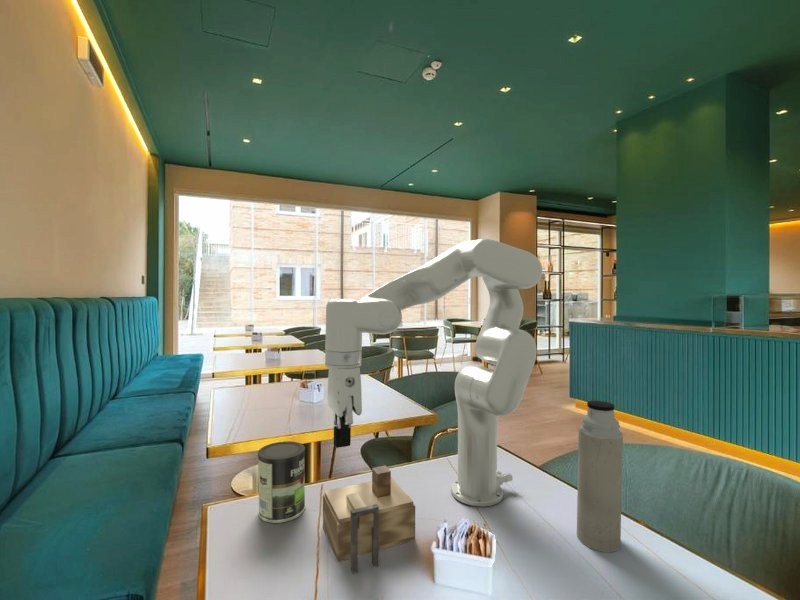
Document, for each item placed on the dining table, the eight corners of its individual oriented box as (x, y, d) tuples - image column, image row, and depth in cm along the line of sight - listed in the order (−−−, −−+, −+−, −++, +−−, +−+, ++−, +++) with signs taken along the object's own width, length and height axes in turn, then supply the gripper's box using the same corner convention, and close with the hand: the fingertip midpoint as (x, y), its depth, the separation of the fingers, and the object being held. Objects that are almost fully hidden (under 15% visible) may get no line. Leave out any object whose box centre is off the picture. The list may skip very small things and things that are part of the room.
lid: (391, 485, 92) (391, 455, 91) (413, 510, 81) (413, 477, 81) (324, 499, 85) (324, 467, 85) (339, 529, 75) (339, 493, 75)
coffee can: (312, 500, 96) (312, 442, 95) (292, 526, 86) (292, 461, 85) (273, 496, 98) (272, 439, 97) (249, 520, 88) (248, 456, 87)
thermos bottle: (602, 525, 86) (605, 396, 85) (629, 550, 78) (633, 407, 77) (568, 529, 85) (571, 398, 84) (592, 554, 77) (595, 409, 76)
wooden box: (391, 509, 92) (392, 462, 92) (424, 551, 78) (424, 495, 77) (322, 526, 86) (322, 475, 85) (344, 576, 71) (344, 515, 71)
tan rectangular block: (358, 502, 80) (358, 491, 80) (373, 526, 72) (373, 513, 72) (345, 505, 79) (345, 493, 79) (359, 530, 71) (359, 517, 71)
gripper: (373, 363, 78) (371, 456, 79) (350, 352, 92) (348, 431, 92) (335, 365, 75) (333, 462, 76) (317, 353, 89) (316, 435, 89)
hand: (341, 445), depth 84 cm, fingers closed
